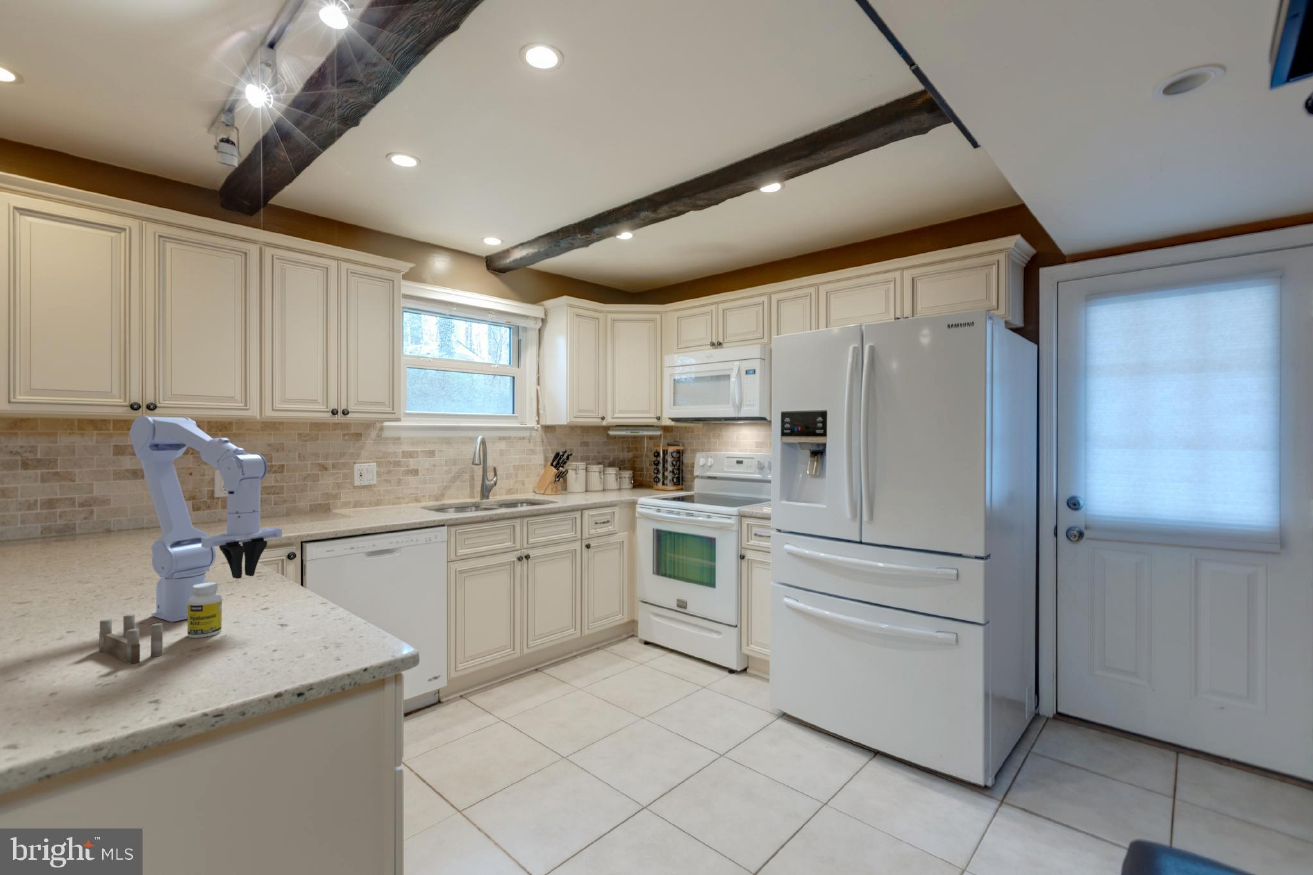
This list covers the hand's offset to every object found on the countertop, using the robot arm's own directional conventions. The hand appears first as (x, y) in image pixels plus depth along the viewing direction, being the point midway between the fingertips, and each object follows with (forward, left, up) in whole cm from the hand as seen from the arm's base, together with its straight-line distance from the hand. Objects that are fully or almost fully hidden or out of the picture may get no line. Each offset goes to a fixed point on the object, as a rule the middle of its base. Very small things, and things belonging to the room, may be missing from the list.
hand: (243, 576), depth 123 cm
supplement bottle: (0, -7, -10) cm, 12 cm away
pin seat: (0, -19, -10) cm, 21 cm away
